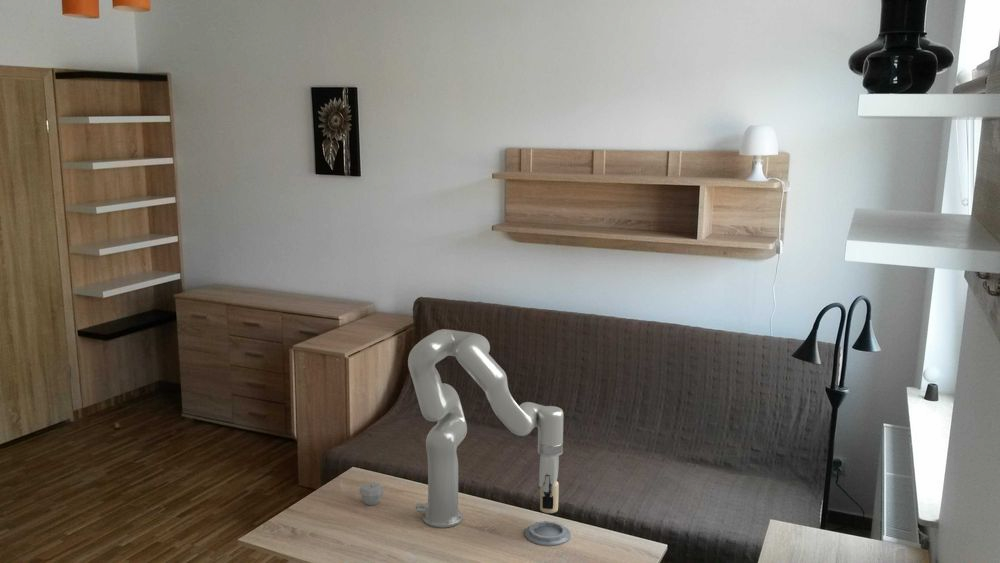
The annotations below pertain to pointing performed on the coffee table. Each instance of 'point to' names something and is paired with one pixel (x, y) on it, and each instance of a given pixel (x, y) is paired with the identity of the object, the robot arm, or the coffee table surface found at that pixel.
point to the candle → (555, 499)
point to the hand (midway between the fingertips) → (549, 503)
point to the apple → (371, 493)
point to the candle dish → (547, 533)
